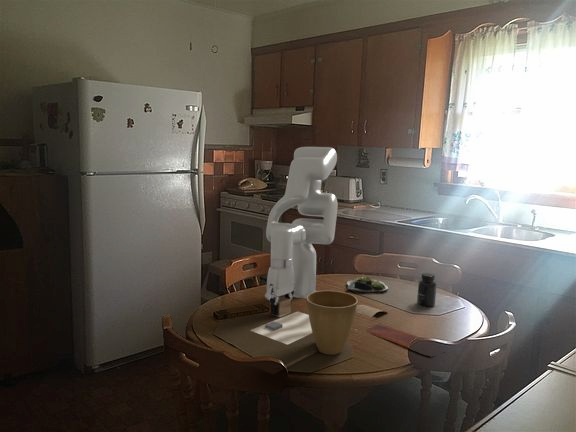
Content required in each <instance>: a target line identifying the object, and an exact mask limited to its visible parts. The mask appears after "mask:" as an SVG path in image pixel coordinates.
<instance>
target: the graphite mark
mask: <svg viewBox="0 0 576 432" xmlns="http://www.w3.org/2000/svg"><path fill="white" fill-rule="evenodd" d="M274 321H275V320H273V322H272V321H270V322H271V323H270V322H267V323H268V324H267V323H265V324H266V325H265V324H264V325H265V328H268V329H270V330H273V331H275V330H278V329H280V328H282V324H280V323H277V322H274Z"/></svg>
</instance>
